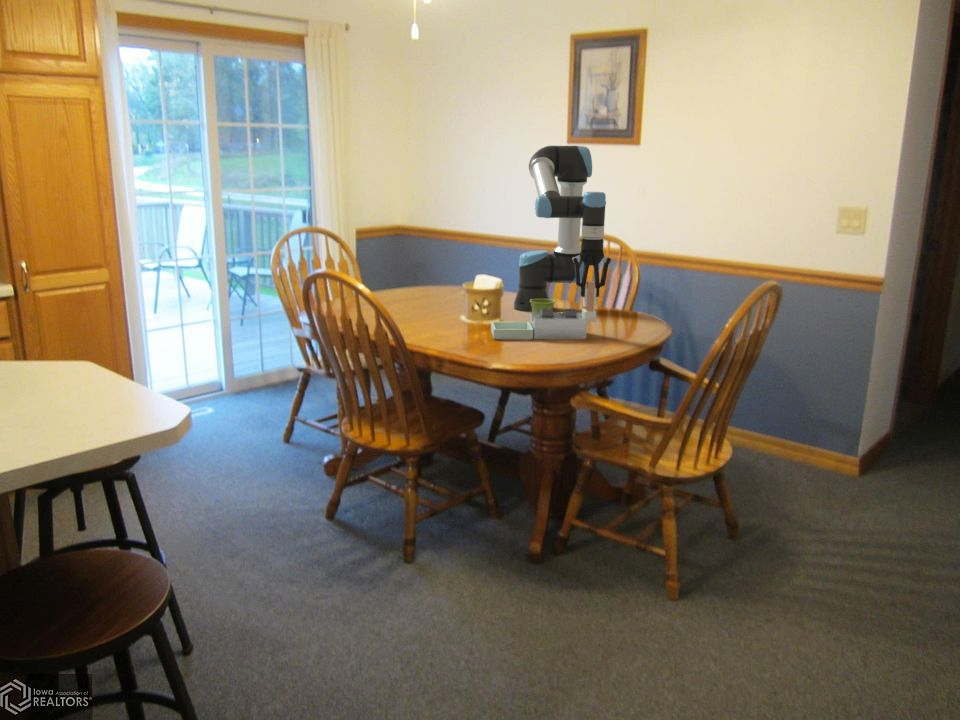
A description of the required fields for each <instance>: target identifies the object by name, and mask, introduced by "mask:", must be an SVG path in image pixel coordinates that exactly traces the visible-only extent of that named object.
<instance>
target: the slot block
mask: <svg viewBox="0 0 960 720" xmlns="http://www.w3.org/2000/svg"><path fill="white" fill-rule="evenodd" d="M529 323H530V325H531V326H532V328H533V340H587V332H588V322H587V318H582V311H581V312H579V311H577V318H574V317H563V311H562V312H560V311H559V312H555V311H554V317H541V312H532V311H530V321H529Z"/></svg>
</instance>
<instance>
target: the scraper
mask: <svg viewBox="0 0 960 720" xmlns="http://www.w3.org/2000/svg"><path fill="white" fill-rule="evenodd" d="M586 287H587V288H588V289H587V307H584V308H582V309H581V313H582V318H587V323H596V322H597V311H596V310H595V309H594V307H593V304H594V287H595V281H593V280H592V281H586Z"/></svg>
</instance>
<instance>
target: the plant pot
mask: <svg viewBox="0 0 960 720" xmlns="http://www.w3.org/2000/svg"><path fill="white" fill-rule="evenodd" d="M530 302H531V306H532V311H531V312H541V309H553V310H554V308H553V307H554V305H555V303H556V300H555V299H550V298H549V299H531V300H530Z"/></svg>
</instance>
